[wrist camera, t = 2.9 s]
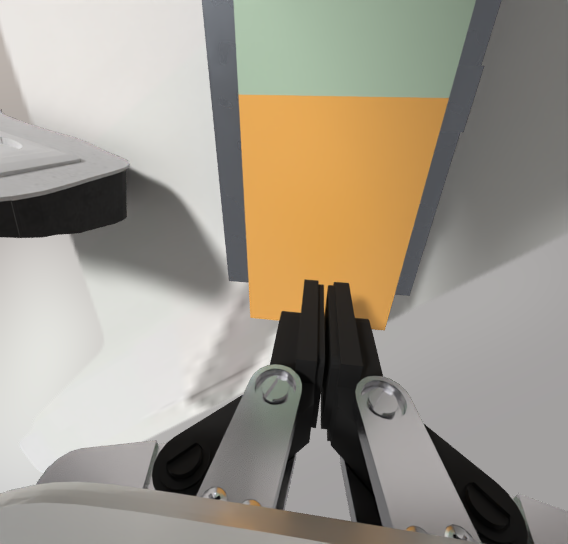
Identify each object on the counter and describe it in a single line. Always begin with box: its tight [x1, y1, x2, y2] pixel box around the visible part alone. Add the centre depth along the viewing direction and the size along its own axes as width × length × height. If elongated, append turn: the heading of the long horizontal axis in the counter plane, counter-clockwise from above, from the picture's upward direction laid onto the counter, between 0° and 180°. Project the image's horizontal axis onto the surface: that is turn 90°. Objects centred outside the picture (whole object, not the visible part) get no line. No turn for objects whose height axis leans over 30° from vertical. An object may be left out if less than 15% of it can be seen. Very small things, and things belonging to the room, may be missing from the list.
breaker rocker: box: [233, 0, 476, 330], centre depth 10 cm, size 20×7×2 cm, turn 179°
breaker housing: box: [202, 0, 501, 296], centre depth 14 cm, size 21×12×8 cm, turn 179°
